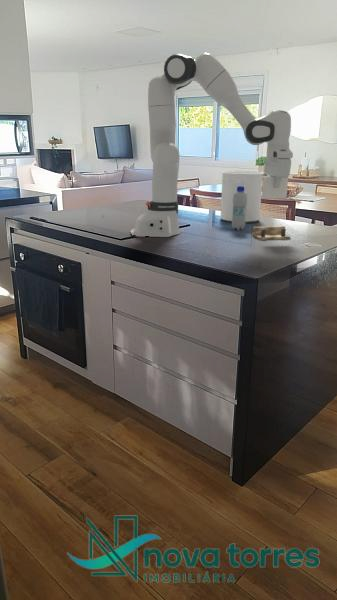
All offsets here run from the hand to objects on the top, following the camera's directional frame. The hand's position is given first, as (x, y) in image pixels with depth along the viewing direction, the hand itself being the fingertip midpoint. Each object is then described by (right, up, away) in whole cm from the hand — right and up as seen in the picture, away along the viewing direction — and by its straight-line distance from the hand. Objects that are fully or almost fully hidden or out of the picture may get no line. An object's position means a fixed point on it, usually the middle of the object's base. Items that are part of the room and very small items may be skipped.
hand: (274, 187), depth 188 cm
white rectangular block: (0, -4, +2) cm, 5 cm away
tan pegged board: (0, -20, +7) cm, 21 cm away
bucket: (-7, -6, +47) cm, 48 cm away
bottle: (-12, -14, +24) cm, 30 cm away
